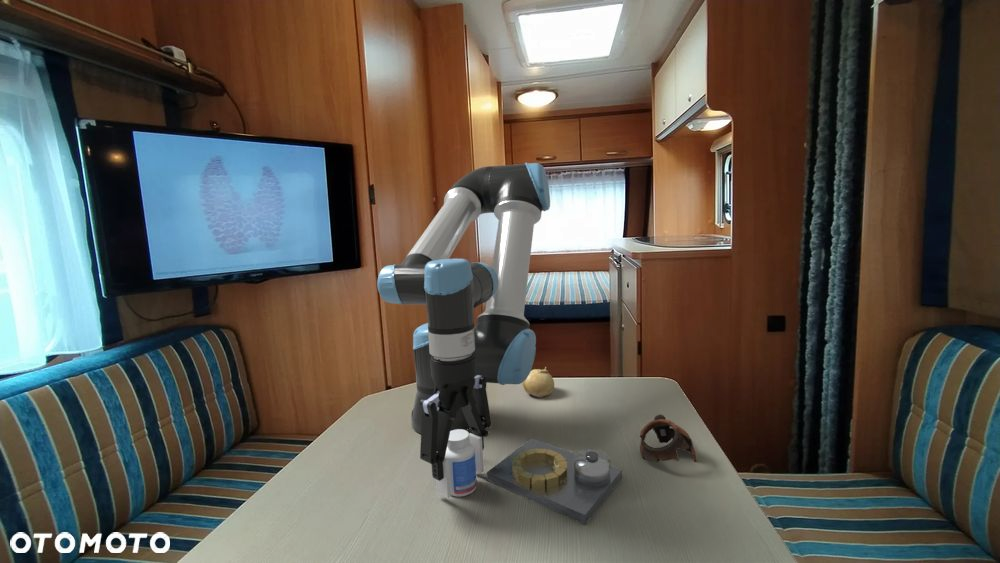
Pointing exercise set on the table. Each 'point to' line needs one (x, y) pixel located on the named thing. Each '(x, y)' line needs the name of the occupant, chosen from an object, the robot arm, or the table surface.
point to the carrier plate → (559, 494)
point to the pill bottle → (461, 463)
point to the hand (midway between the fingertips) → (460, 481)
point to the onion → (539, 383)
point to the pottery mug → (665, 440)
